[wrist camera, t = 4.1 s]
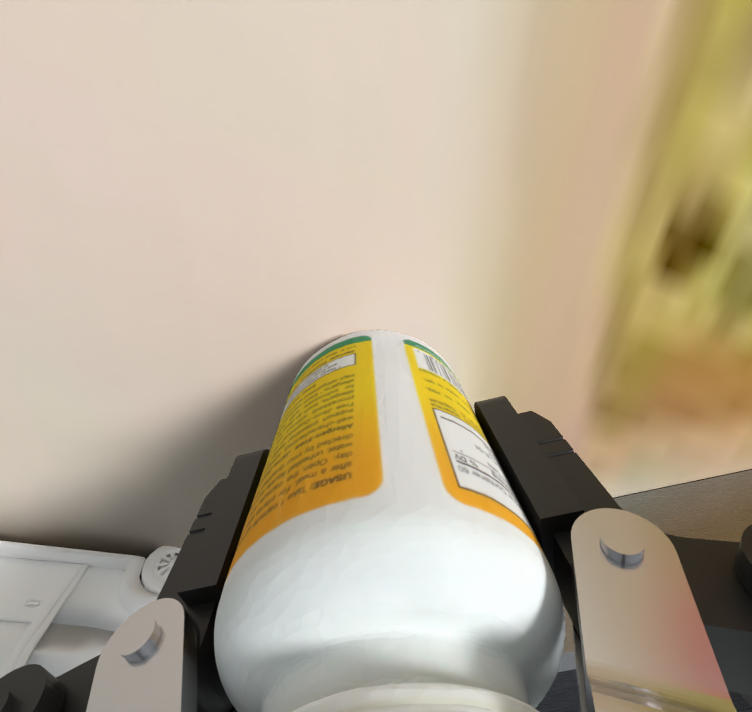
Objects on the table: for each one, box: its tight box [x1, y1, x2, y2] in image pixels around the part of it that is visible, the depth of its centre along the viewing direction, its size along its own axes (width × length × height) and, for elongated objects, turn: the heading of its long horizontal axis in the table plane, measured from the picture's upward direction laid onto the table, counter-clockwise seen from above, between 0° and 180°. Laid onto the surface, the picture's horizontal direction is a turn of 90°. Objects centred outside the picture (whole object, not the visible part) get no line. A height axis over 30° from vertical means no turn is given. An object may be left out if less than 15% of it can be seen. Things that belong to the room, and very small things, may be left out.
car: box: [0, 541, 181, 678], centre depth 13 cm, size 12×6×5 cm, turn 70°
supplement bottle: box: [214, 330, 566, 712], centre depth 7 cm, size 5×5×10 cm
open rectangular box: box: [535, 470, 752, 712], centre depth 14 cm, size 9×22×4 cm, turn 104°
